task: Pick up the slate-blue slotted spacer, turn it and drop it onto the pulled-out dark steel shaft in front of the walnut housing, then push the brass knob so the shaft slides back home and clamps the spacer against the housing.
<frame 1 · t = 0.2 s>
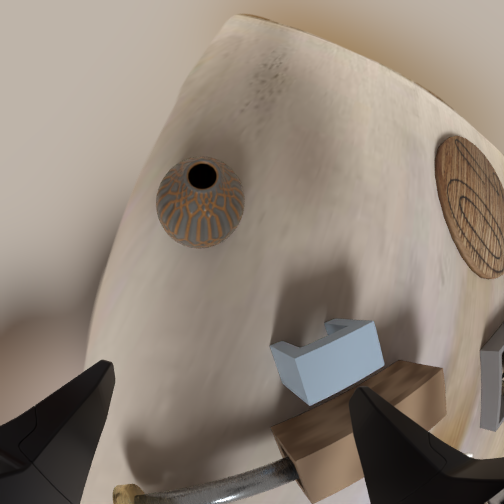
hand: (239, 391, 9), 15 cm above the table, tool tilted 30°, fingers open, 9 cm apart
spacer: (309, 350, 25), on the table
housing: (332, 424, 24), on the table
eagle figurine: (501, 365, 32), resting in tray rim
shaft: (227, 490, 17), point 4 cm above the table, slide at 10.0 cm
tray rim: (502, 366, 31), on the table
trivet: (476, 206, 36), on the table
vase: (199, 217, 25), on the table
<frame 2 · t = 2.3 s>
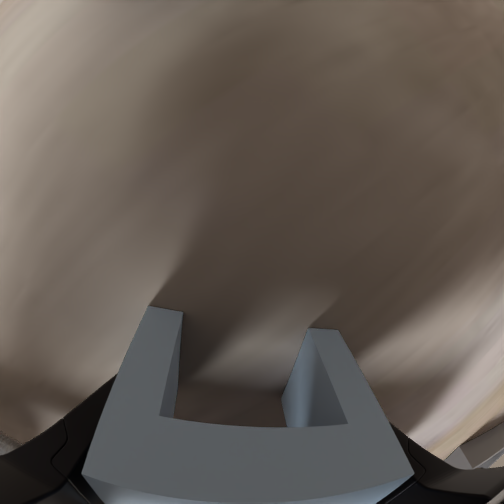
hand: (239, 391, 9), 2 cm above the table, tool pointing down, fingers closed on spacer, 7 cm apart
spacer: (237, 363, 10), on the table, touching gripper
shaft: (16, 459, 8), point 4 cm above the table, slide at 10.0 cm
tray rim: (456, 464, 22), on the table
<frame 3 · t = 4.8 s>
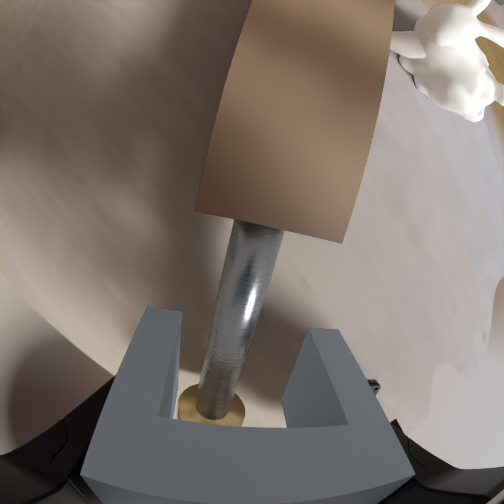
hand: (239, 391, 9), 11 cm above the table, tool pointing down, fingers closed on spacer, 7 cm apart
spacer: (237, 363, 10), point 9 cm above the table, touching gripper
housing: (278, 105, 15), on the table
shaft: (235, 315, 15), point 4 cm above the table, slide at 10.0 cm
rabbit figurine: (426, 58, 14), on the table
when the fingers open (3 cm above the table, at t = 6.9 s): spacer drops 1 cm, resting on shaft.
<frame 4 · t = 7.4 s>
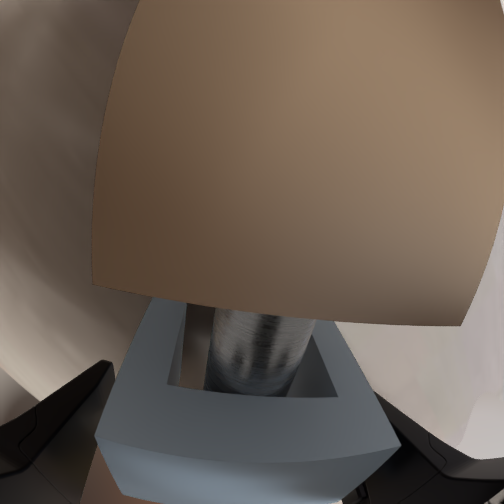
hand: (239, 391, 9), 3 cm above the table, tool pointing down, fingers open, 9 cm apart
spacer: (237, 346, 11), point 1 cm above the table, touching shaft
housing: (294, 57, 8), on the table
shaft: (237, 415, 8), point 4 cm above the table, slide at 10.0 cm, touching spacer
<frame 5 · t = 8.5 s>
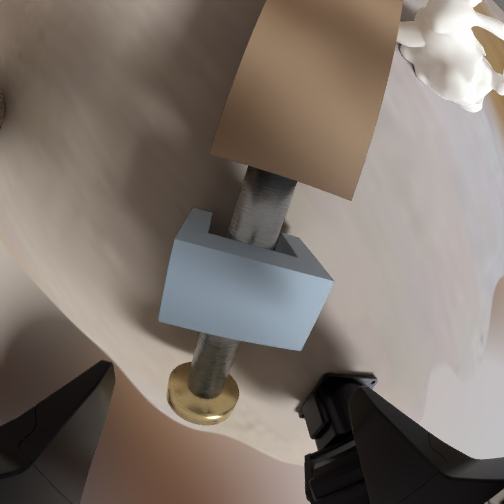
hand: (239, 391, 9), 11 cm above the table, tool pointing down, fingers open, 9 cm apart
spacer: (238, 251, 18), point 1 cm above the table, touching shaft
housing: (291, 83, 15), on the table
shaft: (237, 280, 15), point 4 cm above the table, slide at 10.0 cm, touching spacer
rabbit figurine: (427, 51, 15), on the table
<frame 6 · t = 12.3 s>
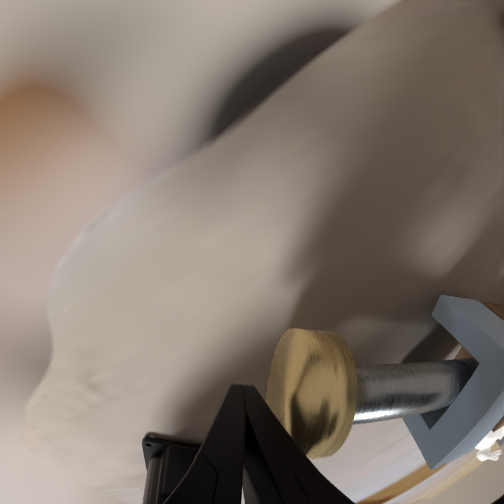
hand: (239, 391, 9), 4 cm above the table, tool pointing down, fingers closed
spacer: (435, 348, 13), point 1 cm above the table, touching shaft
housing: (499, 337, 16), on the table
shaft: (458, 381, 10), point 4 cm above the table, slide at 8.9 cm, touching gripper, spacer
rabbit figurine: (486, 400, 20), on the table
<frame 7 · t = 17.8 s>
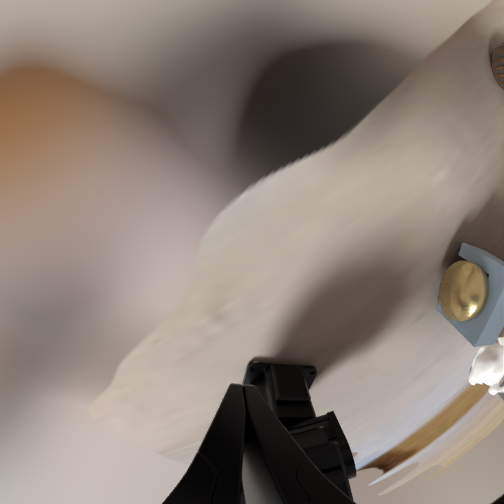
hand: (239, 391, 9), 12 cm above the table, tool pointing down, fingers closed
spacer: (461, 279, 22), point 1 cm above the table, touching shaft
rabbit figurine: (490, 345, 28), on the table
vase: (499, 73, 15), on the table
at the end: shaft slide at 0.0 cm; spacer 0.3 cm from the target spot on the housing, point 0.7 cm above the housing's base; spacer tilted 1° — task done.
